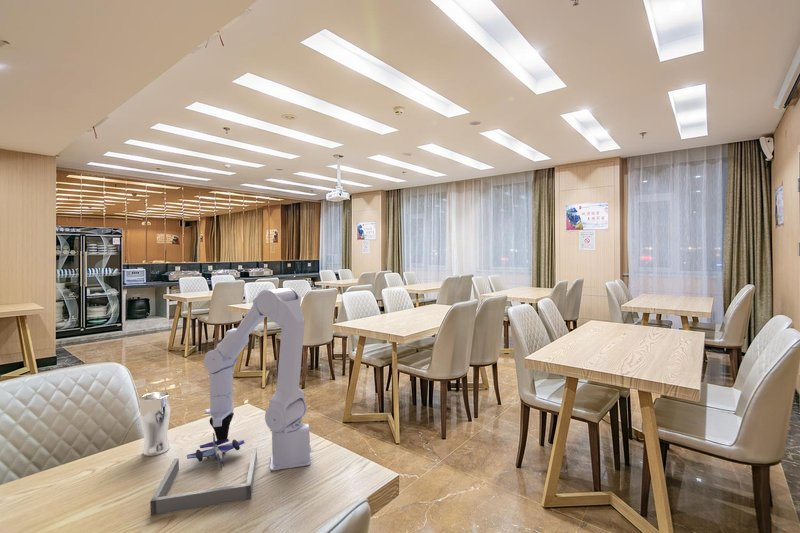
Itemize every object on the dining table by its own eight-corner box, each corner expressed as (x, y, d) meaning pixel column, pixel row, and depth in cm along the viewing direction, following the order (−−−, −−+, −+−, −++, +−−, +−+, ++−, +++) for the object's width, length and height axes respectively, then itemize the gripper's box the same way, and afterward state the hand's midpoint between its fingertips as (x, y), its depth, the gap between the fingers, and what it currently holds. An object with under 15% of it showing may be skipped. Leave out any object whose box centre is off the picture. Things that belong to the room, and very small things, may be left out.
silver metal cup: (154, 443, 110) (153, 390, 110) (177, 445, 109) (175, 391, 109) (134, 456, 103) (132, 399, 103) (158, 457, 102) (157, 400, 102)
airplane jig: (256, 459, 101) (256, 447, 101) (251, 499, 85) (250, 485, 85) (174, 471, 96) (174, 458, 96) (150, 515, 80) (150, 501, 79)
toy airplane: (225, 479, 92) (224, 464, 92) (175, 472, 96) (175, 457, 96) (258, 452, 105) (258, 438, 105) (213, 446, 108) (213, 433, 108)
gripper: (210, 385, 113) (211, 432, 113) (199, 404, 99) (200, 457, 99) (236, 383, 115) (237, 429, 115) (229, 401, 101) (230, 453, 101)
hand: (222, 442), depth 107 cm, fingers closed
